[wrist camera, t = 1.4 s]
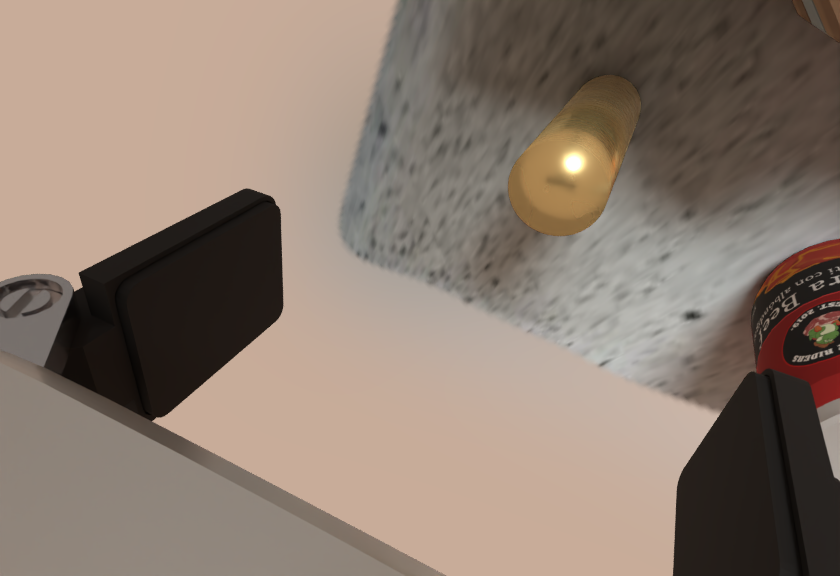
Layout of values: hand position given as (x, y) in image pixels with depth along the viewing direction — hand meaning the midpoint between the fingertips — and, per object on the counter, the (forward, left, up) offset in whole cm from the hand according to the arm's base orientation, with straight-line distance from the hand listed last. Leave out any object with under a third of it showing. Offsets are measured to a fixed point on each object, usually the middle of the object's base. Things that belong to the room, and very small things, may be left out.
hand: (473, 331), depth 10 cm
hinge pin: (0, 0, -18) cm, 18 cm away
